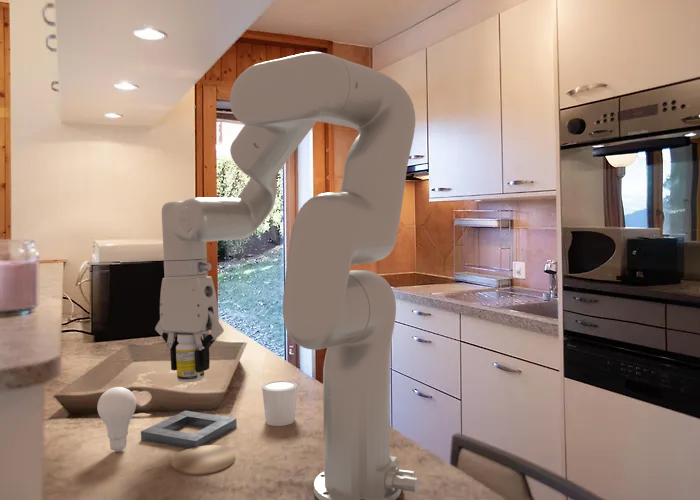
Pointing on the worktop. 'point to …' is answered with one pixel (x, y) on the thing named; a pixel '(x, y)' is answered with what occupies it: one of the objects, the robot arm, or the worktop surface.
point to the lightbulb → (117, 414)
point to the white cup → (279, 402)
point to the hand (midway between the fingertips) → (190, 368)
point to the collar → (169, 436)
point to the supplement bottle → (187, 358)
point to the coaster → (203, 459)
